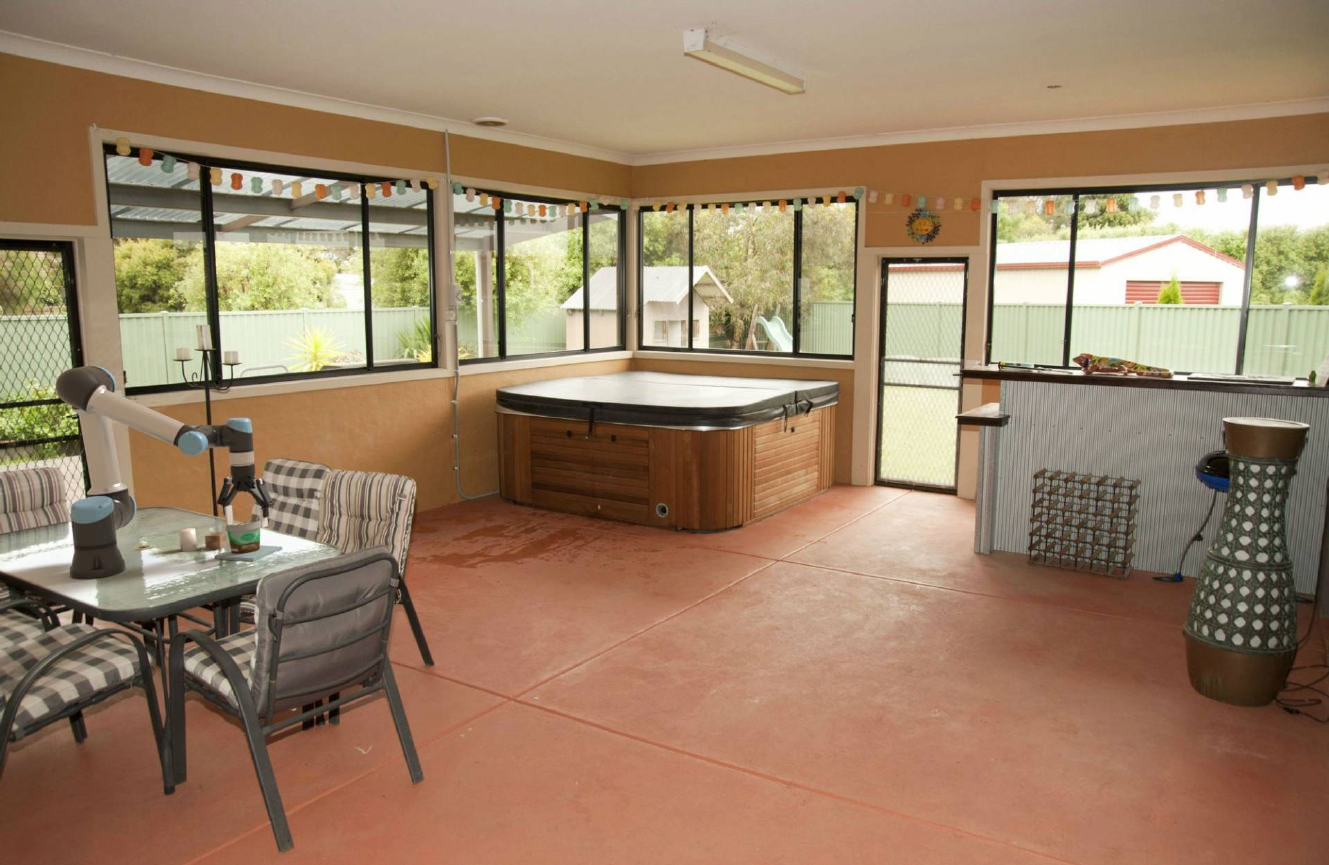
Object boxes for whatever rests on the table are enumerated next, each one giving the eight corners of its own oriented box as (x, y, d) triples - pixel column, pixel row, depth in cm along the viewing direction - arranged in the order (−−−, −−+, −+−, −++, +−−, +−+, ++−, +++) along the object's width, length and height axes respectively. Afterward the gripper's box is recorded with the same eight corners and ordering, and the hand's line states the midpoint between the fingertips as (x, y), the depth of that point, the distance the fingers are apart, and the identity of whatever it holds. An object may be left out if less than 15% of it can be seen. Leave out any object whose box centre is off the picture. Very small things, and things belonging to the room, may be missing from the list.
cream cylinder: (177, 550, 320) (175, 531, 319) (188, 547, 325) (186, 527, 324) (189, 551, 319) (188, 531, 318) (200, 547, 324) (198, 528, 323)
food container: (236, 556, 308) (234, 527, 307) (227, 553, 312) (224, 524, 310) (271, 548, 318) (269, 520, 316) (261, 545, 321) (259, 517, 320)
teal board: (214, 558, 310) (214, 555, 309) (244, 547, 324) (244, 544, 324) (253, 561, 306) (253, 558, 306) (282, 549, 320) (282, 546, 320)
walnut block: (206, 549, 321) (204, 535, 321) (212, 546, 326) (211, 532, 326) (220, 549, 321) (219, 535, 321) (227, 545, 326) (226, 532, 326)
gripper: (281, 463, 311) (286, 525, 314) (218, 460, 317) (223, 521, 320) (267, 467, 304) (271, 530, 307) (202, 464, 310) (207, 526, 313)
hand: (246, 525), depth 314 cm, fingers open, 13 cm apart
